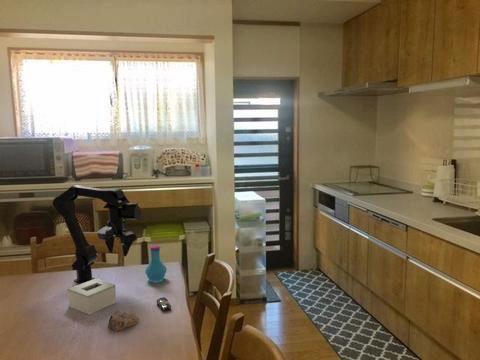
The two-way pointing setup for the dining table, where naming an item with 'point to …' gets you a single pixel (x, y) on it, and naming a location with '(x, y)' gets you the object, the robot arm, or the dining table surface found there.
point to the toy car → (163, 304)
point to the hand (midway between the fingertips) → (118, 254)
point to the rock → (122, 320)
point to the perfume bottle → (155, 266)
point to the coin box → (92, 296)
